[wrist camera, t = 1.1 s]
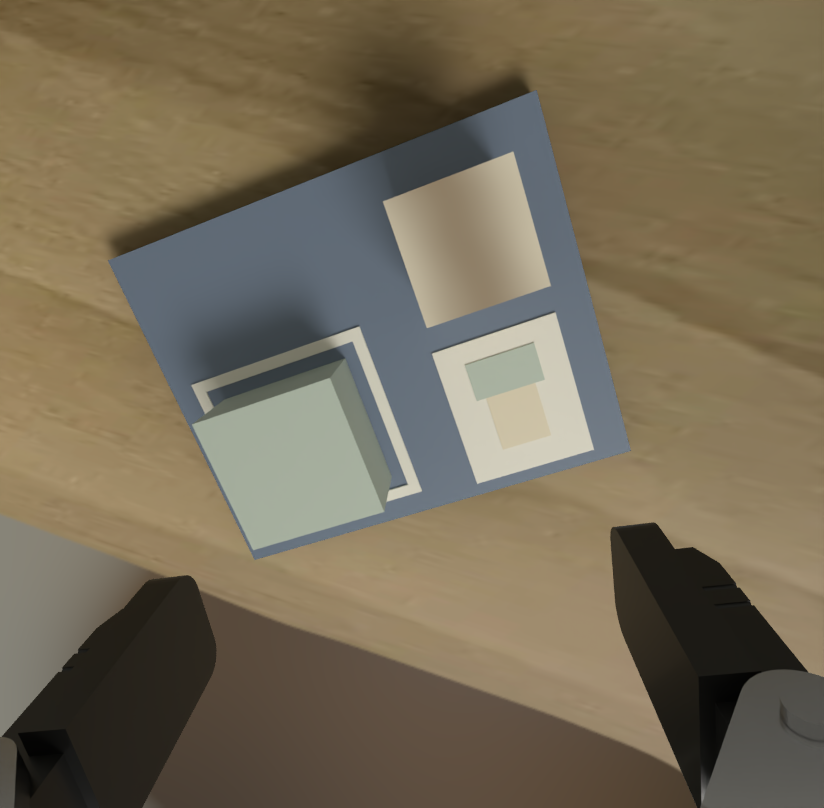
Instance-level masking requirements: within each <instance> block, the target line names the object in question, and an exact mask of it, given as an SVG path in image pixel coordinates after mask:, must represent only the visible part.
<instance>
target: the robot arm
mask: <svg viewBox="0 0 824 808" xmlns="http://www.w3.org/2000/svg"><path fill="white" fill-rule="evenodd" d="M610 538H611V552H612V566H613V579H614V593H615V604H616V610H617V615H618V620H619V624H620V627H621V631H622V634H623V636H624V639H625V641H626V644H627V646H628V648H629V651H630V653H631V655H632V657H633V660H634V662H635V664H636V667H637V669H638V671H639V674H640V676H641V678H642V681H643V683H644V685H645V688H646V690H647V692H648V695H649V697H650V699H651V702H652V704H653V706H654V708H655V711H656V713H657V715H658V718H659V720H660V722H661V725H662V727H663V729H664V732H665V734H666V736H667V739H668V741H669V743H670V746H671V748H672V750H673V752H674V755H675V757H676V759H677V762H678V764H679V766H680V769H681V771H682V773H683V776H684V778H685V780H686V782H687V785H688V787H689V790H690V792H691V794H692V797H693V799H694V801H695V803H696V806H697V808H824V677H821V676H819V675H815V674H811V673H808V671H807V670H806V669H805V668H804V666H803V665H802V664H801V663H800V662H799V660H798V659H797V658H796V657H795V655H794V654H793V653H792V652H791V650H790V649H789V648H788V647H787V646H786V644H785V643H784V642H783V641H782V639H781V638H780V637H779V636H778V634H777V633H776V632H775V631H774V630H773V628H772V627H771V626H770V625H769V623H768V622H767V621H766V620H765V618H764V617H763V616H762V615H761V614H760V612H759V611H758V610H757V609H756V607H755V606H754V605H753V606H752V605H751V603H750V600H749V599H748V598H747V596H746V595H745V594H744V593H743V591H742V590H741V589H740V588H737V586H736V583H735V582H734V580H733V579H732V578H731V577H730V575H729V574H728V573H727V572H726V570H725V569H724V568H723V567H722V566H721V564H720V563H719V562H717V561H715V560H714V559H712V558H710V557H708V556H707V555H705V554H703V553H702V552H700V551H698V550H697V549H695V548H693V547H691V548H681V549H674V547H673V546H672V544H671V543H670V542H669V540H668V539H667V537H666V536H665V535H664V533H663V532H662V530H661V529H660V528H659V526H658V525H657V524H656V523H645V524H637V525H628V526H619V527H613V528H612V529H611V537H610ZM215 662H216V643H215V639H214V635H213V633H212V629H211V626H210V623H209V620H208V617H207V614H206V611H205V608H204V605H203V602H202V599H201V595H200V592H199V589H198V586H197V584H196V582H195V580H194V579H193V578H192V577H191V576H188V575H185V576H177V577H168V578H160V579H152V580H149V581H147V582H146V583H145V584H144V585H143V586H142V588H141V589H140V590H139V591H138V592H137V593H136V594H135V596H134V597H133V598H132V599H131V600H130V602H129V603H128V604H127V605H126V606H125V608H124V609H122V610H120V611H119V612H118V613H116V614H115V615H114V616H112V617H111V618H110V619H108V620H107V621H106V622H104V623H103V624H102V625H100V626H99V627H98V628H96V630H95V631H94V632H93V633H92V634H91V635H90V636H89V638H88V639H87V640H86V641H85V642H84V644H82V646H81V647H80V648H79V649H78V654H74V655H73V656H72V657H71V658H70V659H69V660H68V662H67V663H66V664H65V665H64V666H63V670H62V672H58V673H57V674H56V675H55V676H54V678H53V679H52V680H51V681H50V682H49V683H48V684H47V686H46V687H45V688H44V689H43V690H42V691H41V692H40V694H39V695H38V696H37V697H36V698H35V699H34V700H33V702H32V703H31V704H30V705H29V706H28V707H27V708H26V710H25V711H24V712H23V713H22V714H21V715H20V716H19V718H18V719H17V720H16V721H15V722H14V723H13V724H12V726H11V727H10V728H9V729H8V730H7V731H6V732H5V734H4V735H3V736H2V737H0V808H142V807H143V805H144V803H145V801H146V799H147V797H148V795H149V794H150V792H151V790H152V788H153V786H154V784H155V782H156V780H157V778H158V776H159V774H160V773H161V771H162V769H163V767H164V765H165V763H166V761H167V759H168V757H169V755H170V754H171V752H172V750H173V748H174V746H175V744H176V742H177V740H178V738H179V737H180V735H181V733H182V731H183V729H184V727H185V725H186V723H187V721H188V719H189V717H190V715H191V714H192V712H193V710H194V708H195V706H196V704H197V702H198V701H199V699H200V697H201V695H202V693H203V691H204V689H205V687H206V685H207V683H208V681H209V680H210V678H211V676H212V673H213V670H214V667H215Z"/></svg>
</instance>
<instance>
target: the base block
mask: <svg viewBox="0 0 824 808" xmlns="http://www.w3.org/2000/svg"><path fill="white" fill-rule="evenodd" d="M192 426H193V428H194V430H195V432H196V434H197V436H198V438H199V440H200V442H201V444H202V447H203V449H204V451H205V453H206V455H207V457H208V459H209V461H210V463H211V465H212V467H213V469H214V471H215V473H216V475H217V477H218V479H219V481H220V483H221V485H222V487H223V490H224V492H225V494H226V496H227V498H228V500H229V502H230V504H231V506H232V508H233V510H234V512H235V514H236V516H237V518H238V520H239V522H240V524H241V526H242V528H243V530H244V532H245V535H246V537H247V539H248V541H249V543H250V545H251V547H252V549H253V550H256V549H259V548H263V547H266V546H269V545H273V544H276V543H280V542H283V541H287V540H290V539H293V538H297V537H300V536H304V535H307V534H310V533H314V532H317V531H321V530H324V529H327V528H331V527H334V526H338V525H341V524H345V523H348V522H351V521H355V520H358V519H362V518H365V517H368V516H372V515H375V514H379V513H382V512H384V511H385V506H386V501H387V497H388V492H389V488H390V483H391V479H392V476H391V473H390V471H389V468H388V465H387V463H386V460H385V458H384V455H383V453H382V450H381V448H380V445H379V443H378V440H377V438H376V435H375V432H374V430H373V427H372V425H371V422H370V420H369V417H368V415H367V412H366V410H365V407H364V405H363V402H362V400H361V397H360V394H359V392H358V389H357V387H356V384H355V382H354V379H353V377H352V374H351V372H350V369H349V367H348V364H347V361H346V359H345V358H344V359H341V360H338V361H336V362H333V363H330V364H327V365H324V366H321V367H318V368H315V369H312V370H309V371H306V372H303V373H300V374H297V375H295V376H292V377H289V378H286V379H283V380H280V381H277V382H274V383H271V384H268V385H265V386H262V387H259V388H256V389H254V390H251V391H248V392H245V393H242V394H239V395H236V396H233V397H230V398H227V399H224V400H223V401H222V402H220V403H219V404H218V405H216V406H215V407H214V408H213V409H211V410H210V411H209V412H207V413H206V414H205V415H203V416H202V417H201V418H200V419H198V420H197V421H196V422H194V423H193V424H192Z"/></svg>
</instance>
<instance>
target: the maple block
mask: <svg viewBox="0 0 824 808" xmlns="http://www.w3.org/2000/svg"><path fill="white" fill-rule="evenodd" d="M383 203H384V206H385V209H386V212H387V215H388V218H389V221H390V224H391V227H392V229H393V232H394V235H395V238H396V241H397V244H398V247H399V250H400V252H401V255H402V258H403V261H404V264H405V267H406V270H407V273H408V275H409V278H410V281H411V284H412V287H413V290H414V293H415V296H416V298H417V301H418V304H419V307H420V310H421V313H422V316H423V319H424V321H425V324H426V327H427V328H429V327H432V326H435V325H438V324H441V323H444V322H447V321H450V320H453V319H456V318H459V317H462V316H464V315H467V314H470V313H473V312H476V311H479V310H482V309H485V308H488V307H491V306H494V305H497V304H500V303H502V302H505V301H508V300H511V299H514V298H517V297H520V296H523V295H526V294H529V293H532V292H535V291H538V290H540V289H543V288H546V287H549V286H551V284H550V281H549V277H548V273H547V270H546V266H545V263H544V259H543V256H542V252H541V248H540V245H539V241H538V238H537V234H536V231H535V227H534V223H533V220H532V216H531V213H530V209H529V205H528V202H527V198H526V195H525V191H524V188H523V184H522V180H521V177H520V173H519V170H518V166H517V163H516V159H515V155H514V152H511V153H508V154H505V155H503V156H500V157H498V158H495V159H492V160H490V161H487V162H485V163H482V164H479V165H477V166H474V167H472V168H469V169H466V170H464V171H461V172H459V173H456V174H453V175H451V176H448V177H445V178H443V179H440V180H438V181H435V182H432V183H430V184H427V185H425V186H422V187H419V188H417V189H414V190H412V191H409V192H406V193H404V194H401V195H399V196H396V197H393V198H391V199H388V200H385V201H383Z"/></svg>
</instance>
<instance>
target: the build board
mask: <svg viewBox="0 0 824 808" xmlns="http://www.w3.org/2000/svg"><path fill="white" fill-rule="evenodd" d="M511 152H514V155H515V159H516V163H517V166H518V170H519V173H520V177H521V180H522V184H523V188H524V191H525V195H526V198H527V202H528V205H529V209H530V213H531V216H532V220H533V223H534V227H535V231H536V234H537V238H538V241H539V245H540V248H541V252H542V256H543V259H544V263H545V266H546V270H547V273H548V277H549V281H550V284H551V286H549V287H546V288H543V289H540V290H538V291H535V292H532V293H529V294H526V295H523V296H520V297H517V298H514V299H511V300H508V301H505V302H502V303H500V304H497V305H494V306H491V307H488V308H485V309H482V310H479V311H476V312H473V313H470V314H467V315H464V316H462V317H459V318H456V319H453V320H450V321H447V322H444V323H441V324H438V325H435V326H432V327H429V328H427V327H426V324H425V321H424V319H423V316H422V313H421V310H420V307H419V304H418V301H417V298H416V296H415V293H414V290H413V287H412V284H411V281H410V278H409V275H408V273H407V270H406V267H405V264H404V261H403V258H402V255H401V252H400V250H399V247H398V244H397V241H396V238H395V235H394V232H393V229H392V227H391V224H390V221H389V218H388V215H387V212H386V209H385V206H384V203H383V201H385V200H388V199H391V198H393V197H396V196H399V195H401V194H404V193H406V192H409V191H412V190H414V189H417V188H419V187H422V186H425V185H427V184H430V183H432V182H435V181H438V180H440V179H443V178H445V177H448V176H451V175H453V174H456V173H459V172H461V171H464V170H466V169H469V168H472V167H474V166H477V165H479V164H482V163H485V162H487V161H490V160H492V159H495V158H498V157H500V156H503V155H505V154H508V153H511ZM108 262H109V264H110V266H111V268H112V270H113V272H114V274H115V276H116V278H117V280H118V282H119V284H120V286H121V288H122V290H123V292H124V294H125V296H126V298H127V300H128V302H129V304H130V307H131V309H132V311H133V313H134V315H135V317H136V319H137V321H138V323H139V325H140V327H141V329H142V331H143V333H144V335H145V337H146V339H147V341H148V343H149V345H150V347H151V349H152V351H153V353H154V355H155V358H156V360H157V362H158V364H159V366H160V368H161V370H162V372H163V374H164V376H165V378H166V380H167V382H168V384H169V386H170V388H171V390H172V392H173V394H174V396H175V398H176V400H177V402H178V404H179V406H180V409H181V411H182V413H183V415H184V417H185V419H186V421H187V423H188V425H189V427H190V429H191V431H192V433H193V435H194V437H195V439H196V441H197V443H198V445H199V447H200V449H201V451H202V453H203V455H204V457H205V459H206V462H207V464H208V466H209V468H210V470H211V472H212V474H213V476H214V478H215V480H216V482H217V484H218V486H219V488H220V490H221V492H222V494H223V496H224V498H225V500H226V502H227V504H228V506H229V508H230V510H231V513H232V515H233V517H234V519H235V521H236V523H237V525H238V527H239V529H240V531H241V533H242V535H243V537H244V539H245V541H246V543H247V545H248V547H249V549H250V551H251V553H252V555H253V557H254V559H255V560H256V559H259V558H263V557H266V556H270V555H273V554H276V553H280V552H283V551H287V550H290V549H294V548H297V547H301V546H304V545H307V544H311V543H314V542H318V541H321V540H325V539H328V538H332V537H335V536H339V535H342V534H345V533H349V532H352V531H356V530H359V529H363V528H366V527H370V526H373V525H376V524H380V523H383V522H387V521H390V520H394V519H397V518H401V517H404V516H407V515H411V514H414V513H418V512H421V511H425V510H428V509H432V508H435V507H439V506H442V505H445V504H449V503H452V502H456V501H459V500H463V499H466V498H470V497H473V496H476V495H480V494H483V493H487V492H490V491H494V490H497V489H501V488H504V487H508V486H511V485H514V484H518V483H521V482H525V481H528V480H532V479H535V478H539V477H542V476H545V475H549V474H552V473H556V472H559V471H563V470H566V469H570V468H573V467H577V466H580V465H583V464H587V463H590V462H594V461H597V460H601V459H604V458H608V457H611V456H614V455H618V454H621V453H625V452H628V451H631V450H630V446H629V442H628V438H627V434H626V430H625V427H624V423H623V419H622V415H621V411H620V408H619V404H618V400H617V396H616V392H615V388H614V385H613V381H612V377H611V373H610V369H609V365H608V362H607V358H606V354H605V350H604V346H603V342H602V339H601V335H600V331H599V327H598V323H597V320H596V316H595V312H594V308H593V304H592V300H591V297H590V293H589V289H588V285H587V281H586V277H585V274H584V270H583V266H582V262H581V258H580V254H579V251H578V247H577V243H576V239H575V235H574V232H573V228H572V224H571V220H570V216H569V212H568V209H567V205H566V201H565V197H564V193H563V189H562V186H561V182H560V178H559V174H558V170H557V166H556V163H555V159H554V155H553V151H552V147H551V144H550V140H549V136H548V132H547V128H546V124H545V121H544V117H543V113H542V109H541V105H540V101H539V98H538V94H537V90H535V91H533V92H530V93H528V94H525V95H523V96H520V97H518V98H515V99H513V100H510V101H508V102H505V103H503V104H500V105H498V106H495V107H493V108H490V109H488V110H485V111H483V112H480V113H478V114H475V115H473V116H470V117H468V118H465V119H463V120H460V121H458V122H455V123H453V124H450V125H447V126H445V127H442V128H440V129H437V130H435V131H432V132H430V133H427V134H425V135H422V136H420V137H417V138H415V139H412V140H410V141H407V142H405V143H402V144H400V145H397V146H395V147H392V148H390V149H387V150H385V151H382V152H380V153H377V154H375V155H372V156H370V157H367V158H365V159H362V160H360V161H357V162H355V163H352V164H349V165H347V166H344V167H342V168H339V169H337V170H334V171H332V172H329V173H327V174H324V175H322V176H319V177H317V178H314V179H312V180H309V181H307V182H304V183H302V184H299V185H297V186H294V187H292V188H289V189H287V190H284V191H282V192H279V193H277V194H274V195H272V196H269V197H267V198H264V199H262V200H259V201H257V202H254V203H251V204H249V205H246V206H244V207H241V208H239V209H236V210H234V211H231V212H229V213H226V214H224V215H221V216H219V217H216V218H214V219H211V220H209V221H206V222H204V223H201V224H199V225H196V226H194V227H191V228H189V229H186V230H184V231H181V232H179V233H176V234H174V235H171V236H169V237H166V238H164V239H161V240H159V241H156V242H154V243H151V244H148V245H146V246H143V247H141V248H138V249H136V250H133V251H131V252H128V253H126V254H123V255H121V256H118V257H116V258H113V259H111V260H108ZM344 358H345V359H346V361H347V364H348V367H349V369H350V372H351V374H352V377H353V379H354V382H355V384H356V387H357V389H358V392H359V394H360V397H361V400H362V402H363V405H364V407H365V410H366V412H367V415H368V417H369V420H370V422H371V425H372V427H373V430H374V432H375V435H376V438H377V440H378V443H379V445H380V448H381V450H382V453H383V455H384V458H385V460H386V463H387V465H388V468H389V471H390V473H391V476H392V479H391V483H390V488H389V492H388V497H387V501H386V506H385V511H384V512H382V513H379V514H375V515H372V516H368V517H365V518H362V519H358V520H355V521H351V522H348V523H345V524H341V525H338V526H334V527H331V528H327V529H324V530H321V531H317V532H314V533H310V534H307V535H304V536H300V537H297V538H293V539H290V540H287V541H283V542H280V543H276V544H273V545H269V546H266V547H263V548H259V549H256V550H253V549H252V547H251V545H250V543H249V541H248V539H247V537H246V535H245V532H244V530H243V528H242V526H241V524H240V522H239V520H238V518H237V516H236V514H235V512H234V510H233V508H232V506H231V504H230V502H229V500H228V498H227V496H226V494H225V492H224V490H223V487H222V485H221V483H220V481H219V479H218V477H217V475H216V473H215V471H214V469H213V467H212V465H211V463H210V461H209V459H208V457H207V455H206V453H205V451H204V449H203V447H202V444H201V442H200V440H199V438H198V436H197V434H196V432H195V430H194V428H193V426H192V424H193V423H194V422H196V421H197V420H198V419H200V418H201V417H202V416H203V415H205V414H206V413H207V412H209V411H210V410H211V409H213V408H214V407H215V406H216V405H218V404H219V403H220V402H222V401H223V400H224V399H227V398H230V397H233V396H236V395H239V394H242V393H245V392H248V391H251V390H254V389H256V388H259V387H262V386H265V385H268V384H271V383H274V382H277V381H280V380H283V379H286V378H289V377H292V376H295V375H297V374H300V373H303V372H306V371H309V370H312V369H315V368H318V367H321V366H324V365H327V364H330V363H333V362H336V361H338V360H341V359H344Z"/></svg>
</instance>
